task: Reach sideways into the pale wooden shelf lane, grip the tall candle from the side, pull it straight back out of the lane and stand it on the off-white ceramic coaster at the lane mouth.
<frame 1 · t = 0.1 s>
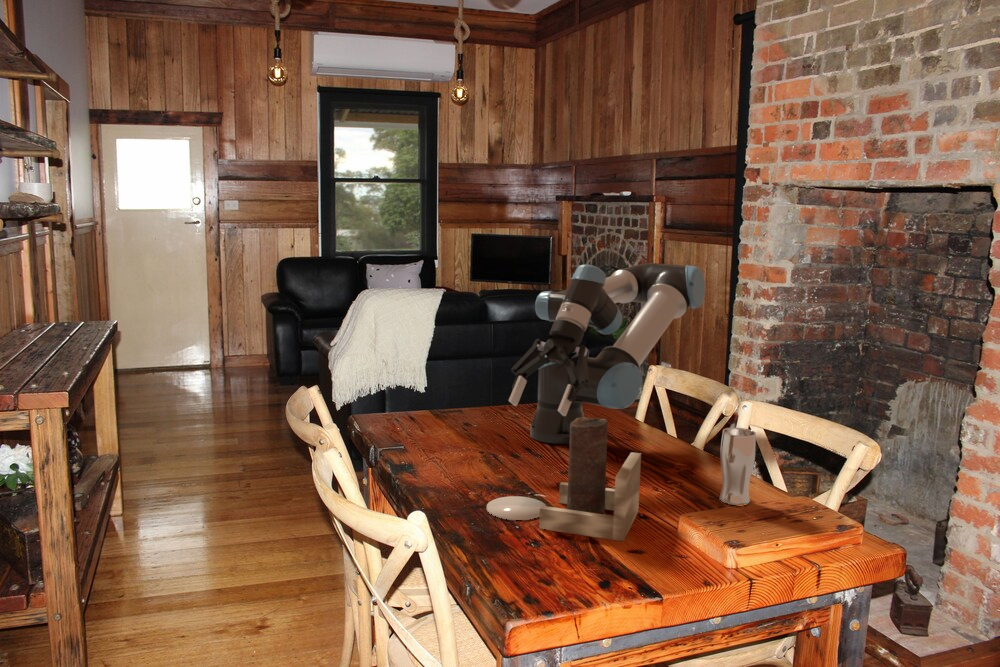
hand: (536, 408, 185), 15 cm above the table, tool tilted 35°, fingers open, 13 cm apart
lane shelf: (585, 519, 162), on the table
beer glass: (734, 502, 173), on the table
candle: (585, 520, 162), on the table
coaster: (516, 509, 166), on the table
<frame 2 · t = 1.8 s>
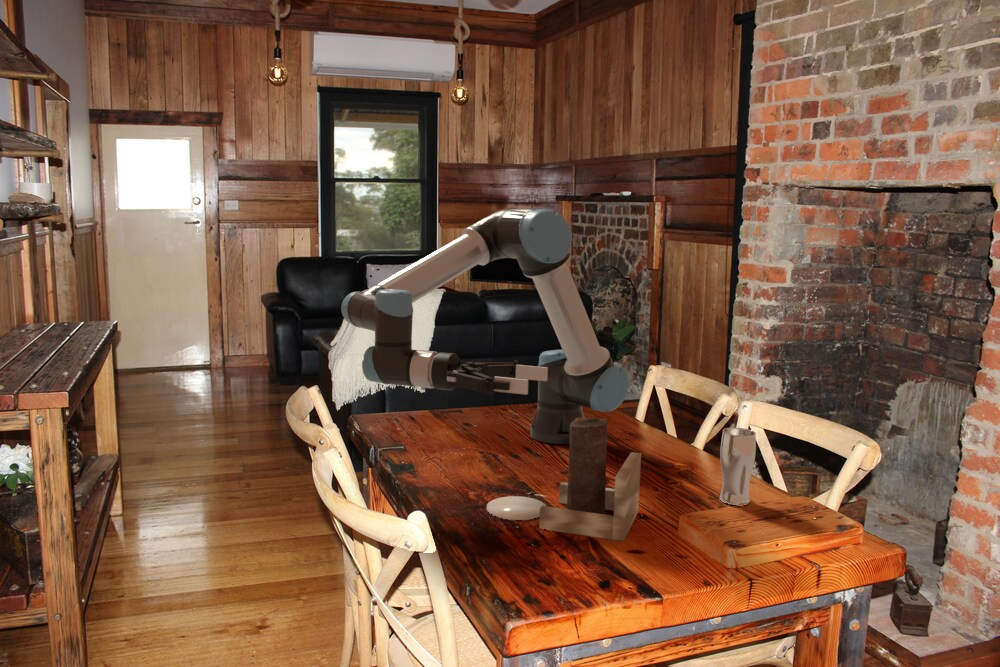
hand: (537, 380, 161), 27 cm above the table, tool horizontal, fingers open, 13 cm apart
nothing on the table moved.
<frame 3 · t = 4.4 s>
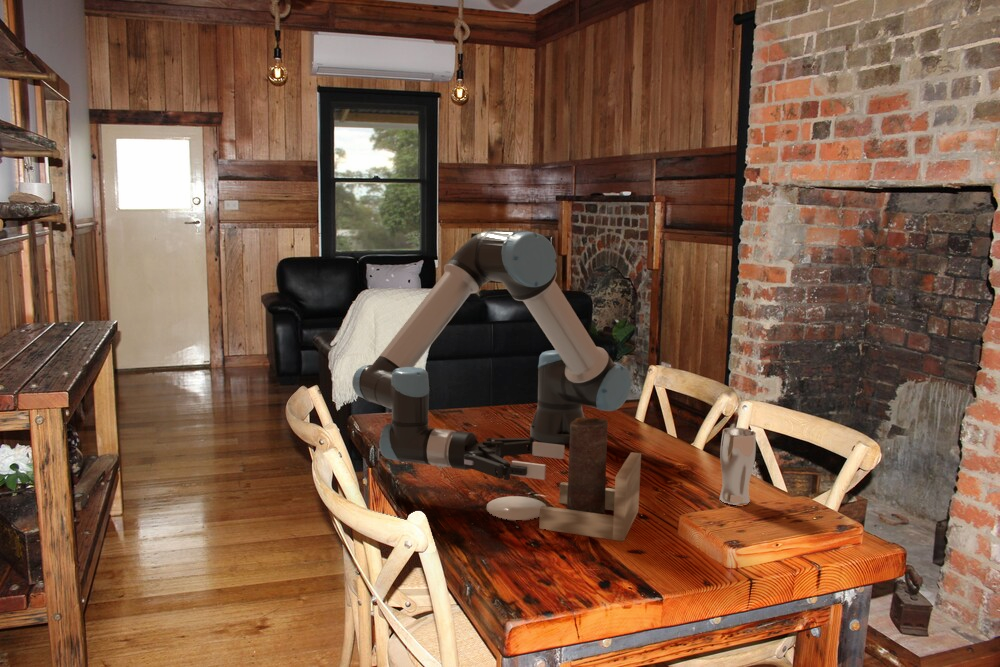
hand: (554, 461, 161), 11 cm above the table, tool horizontal, fingers open, 13 cm apart
nothing on the table moved.
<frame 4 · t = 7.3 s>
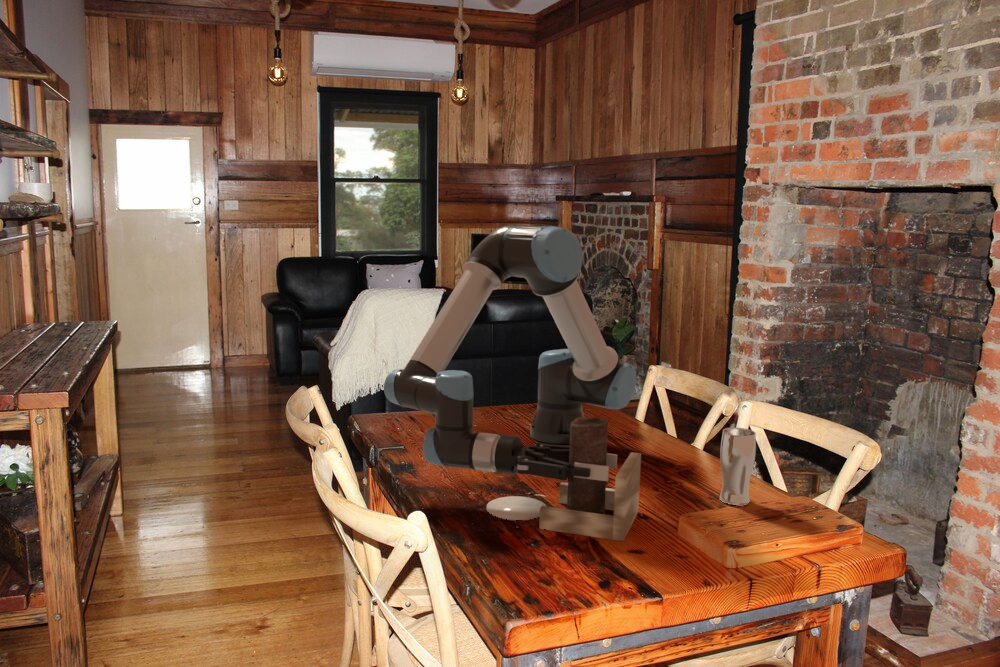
hand: (612, 467, 158), 11 cm above the table, tool horizontal, fingers closed on candle, 7 cm apart
candle: (585, 519, 162), on the table, touching gripper
everything else where it was.
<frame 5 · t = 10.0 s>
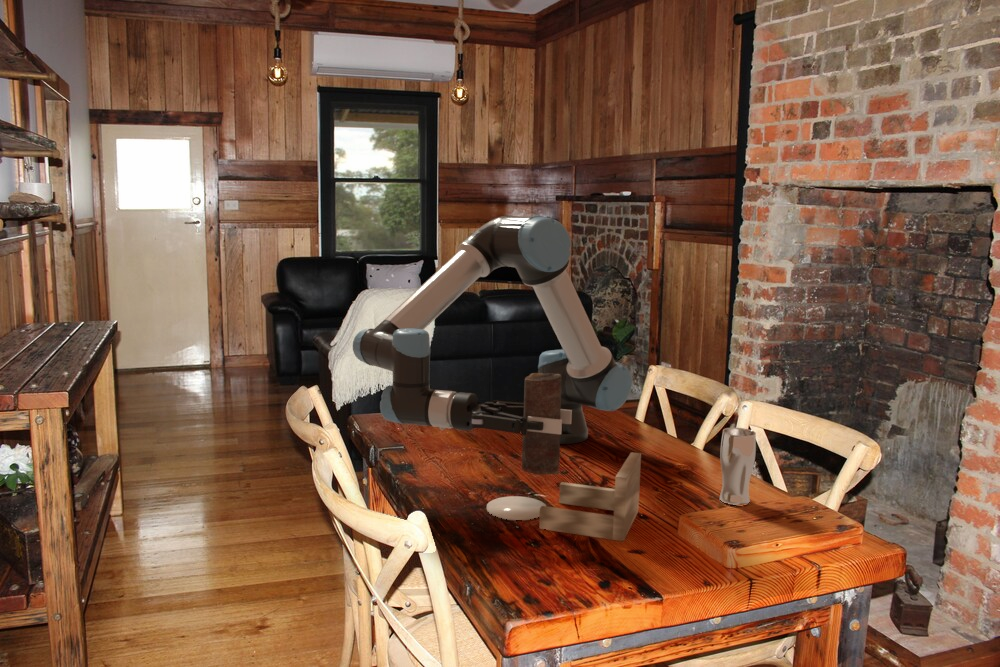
hand: (566, 421, 160), 19 cm above the table, tool horizontal, fingers closed on candle, 7 cm apart
candle: (540, 474, 163), point 8 cm above the table, touching gripper
everything else where it was.
when the fingers open (13 cm above the table, at t = 13.1 s): candle drops 1 cm, resting on coaster.
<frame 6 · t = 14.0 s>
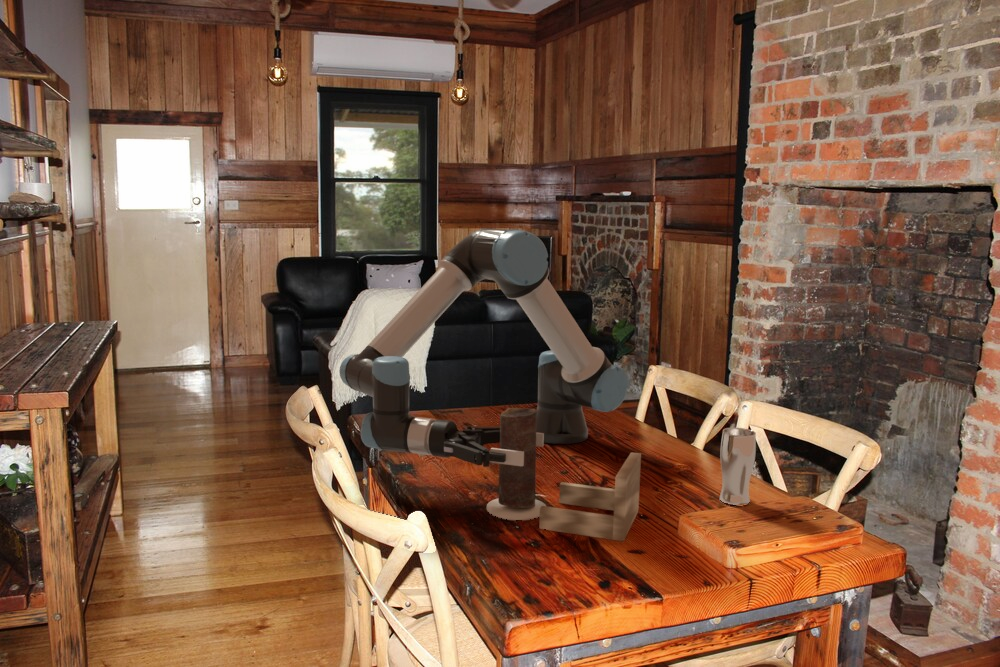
hand: (533, 449, 163), 13 cm above the table, tool horizontal, fingers open, 13 cm apart
candle: (516, 507, 166), resting on coaster
everything else where it was.
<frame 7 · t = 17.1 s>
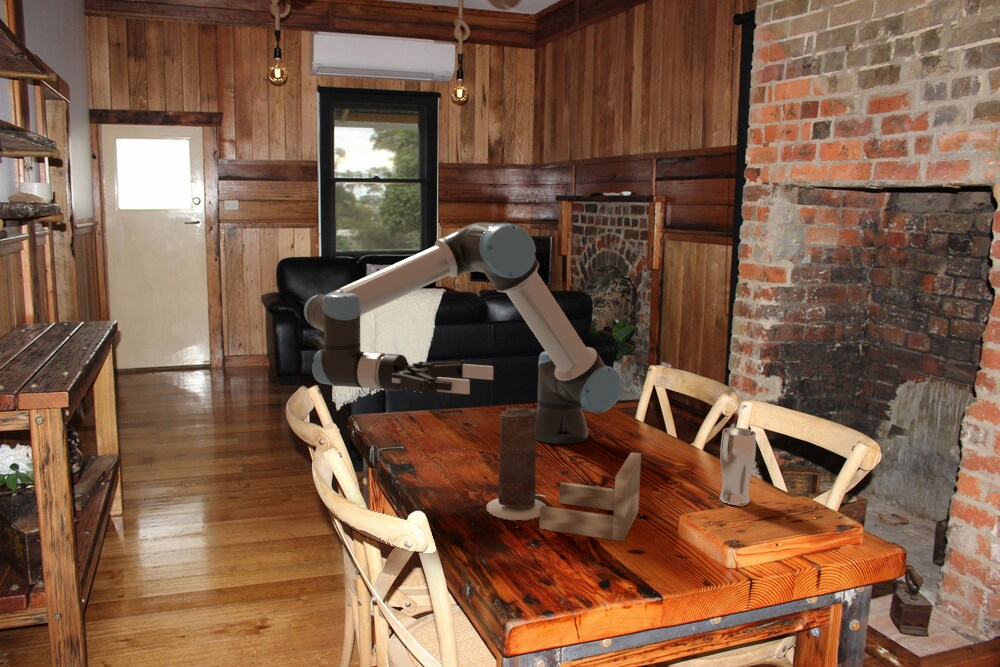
hand: (481, 379, 164), 26 cm above the table, tool horizontal, fingers open, 13 cm apart
nothing on the table moved.
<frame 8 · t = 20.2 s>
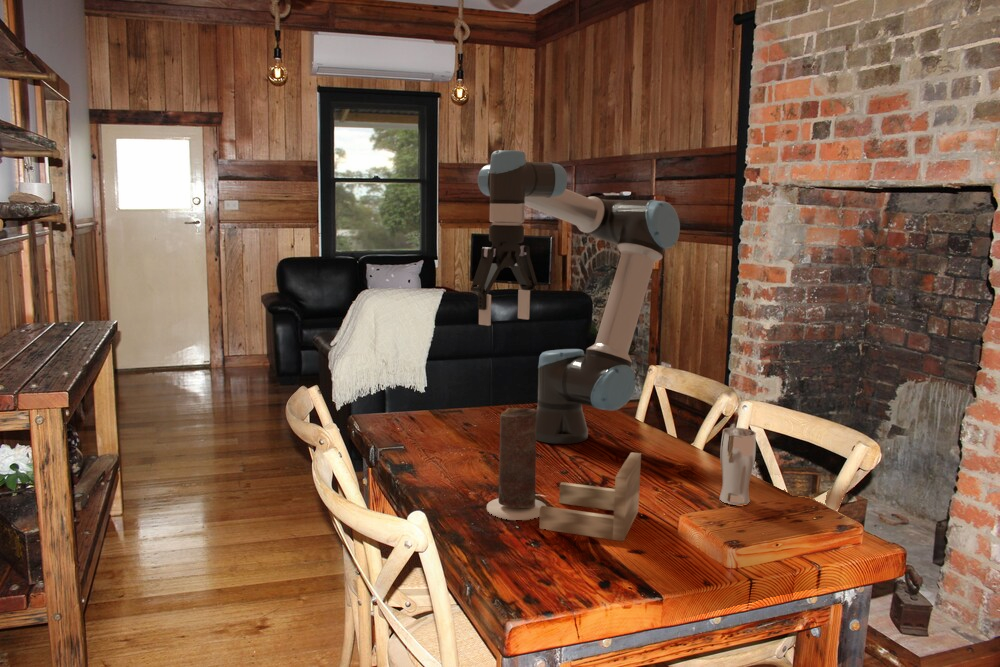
hand: (504, 321, 182), 35 cm above the table, tool pointing down, fingers open, 13 cm apart
nothing on the table moved.
at the end: candle 0.1 cm from the coaster (horizontally); candle tilted 0°; the gripper is holding nothing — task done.
